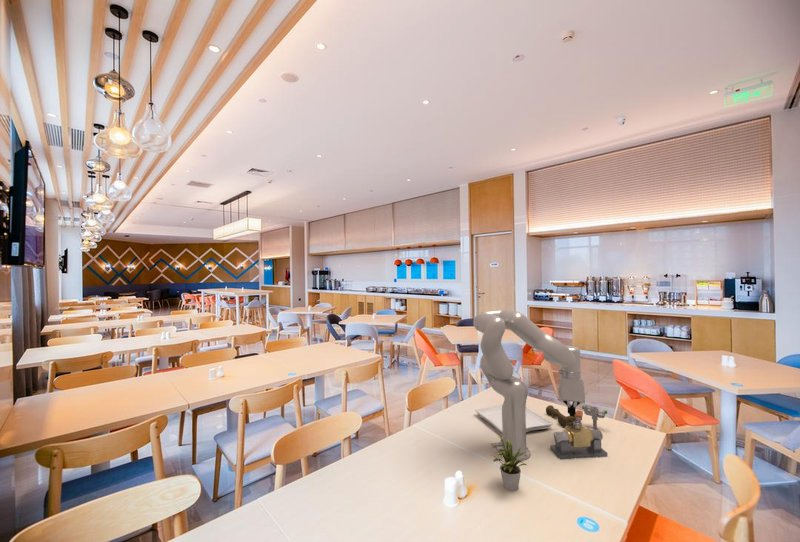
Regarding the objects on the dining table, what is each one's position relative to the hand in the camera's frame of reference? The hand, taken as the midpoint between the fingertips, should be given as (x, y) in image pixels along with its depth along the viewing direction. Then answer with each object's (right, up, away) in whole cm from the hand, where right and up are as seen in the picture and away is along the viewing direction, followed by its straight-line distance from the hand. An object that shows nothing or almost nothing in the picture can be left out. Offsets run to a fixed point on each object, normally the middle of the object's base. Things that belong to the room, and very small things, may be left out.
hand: (571, 415), depth 151 cm
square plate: (-20, -13, +19) cm, 31 cm away
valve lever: (0, 0, -5) cm, 5 cm away
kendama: (+5, -12, +18) cm, 23 cm away
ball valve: (-2, -12, -9) cm, 15 cm away
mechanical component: (+17, -11, +11) cm, 23 cm away
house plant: (-38, -13, -29) cm, 49 cm away
